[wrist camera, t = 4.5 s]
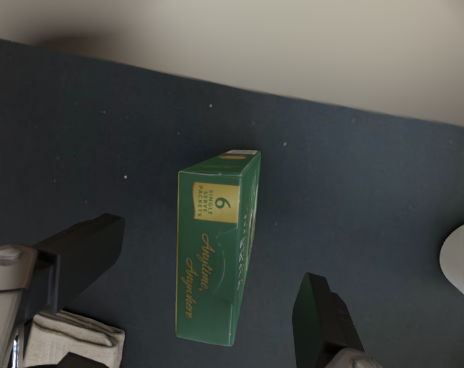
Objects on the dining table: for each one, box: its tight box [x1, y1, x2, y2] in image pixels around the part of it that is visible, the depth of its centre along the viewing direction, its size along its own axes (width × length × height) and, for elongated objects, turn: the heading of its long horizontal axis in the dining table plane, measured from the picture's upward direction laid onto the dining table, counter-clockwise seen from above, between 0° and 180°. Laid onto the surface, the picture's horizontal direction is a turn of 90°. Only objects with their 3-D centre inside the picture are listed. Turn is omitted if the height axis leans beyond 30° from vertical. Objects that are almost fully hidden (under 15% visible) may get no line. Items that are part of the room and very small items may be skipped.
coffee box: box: [176, 150, 261, 346], centre depth 17 cm, size 8×3×13 cm, turn 177°
